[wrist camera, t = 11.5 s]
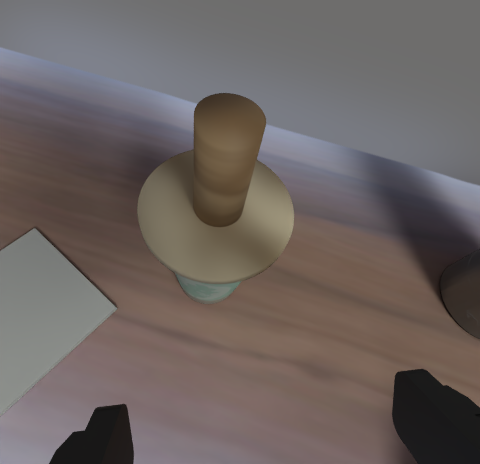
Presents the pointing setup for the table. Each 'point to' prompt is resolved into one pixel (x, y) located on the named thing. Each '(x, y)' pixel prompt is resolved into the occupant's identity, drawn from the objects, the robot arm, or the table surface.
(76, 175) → the table surface
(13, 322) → the coaster
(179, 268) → the lid
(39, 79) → the table surface
